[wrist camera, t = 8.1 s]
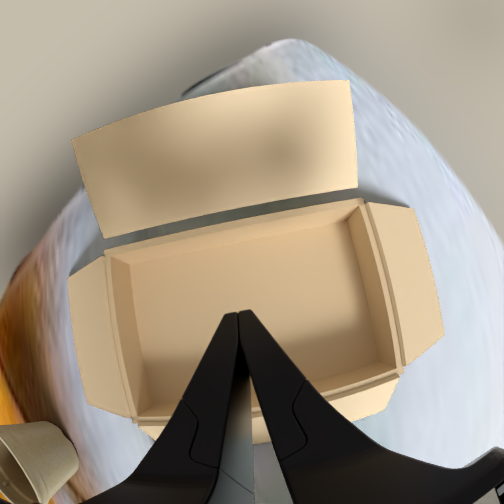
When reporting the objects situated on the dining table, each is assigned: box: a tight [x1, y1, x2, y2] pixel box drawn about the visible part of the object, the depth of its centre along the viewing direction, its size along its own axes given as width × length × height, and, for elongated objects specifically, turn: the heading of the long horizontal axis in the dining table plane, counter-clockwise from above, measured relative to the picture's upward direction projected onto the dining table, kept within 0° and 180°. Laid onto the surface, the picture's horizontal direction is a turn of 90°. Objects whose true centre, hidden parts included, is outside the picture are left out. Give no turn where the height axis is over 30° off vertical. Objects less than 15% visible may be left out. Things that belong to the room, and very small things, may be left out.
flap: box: [71, 80, 358, 239], centre depth 15 cm, size 1×17×7 cm
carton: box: [68, 197, 444, 444], centre depth 17 cm, size 16×30×4 cm, turn 101°
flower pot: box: [0, 421, 79, 504], centre depth 12 cm, size 9×9×9 cm
